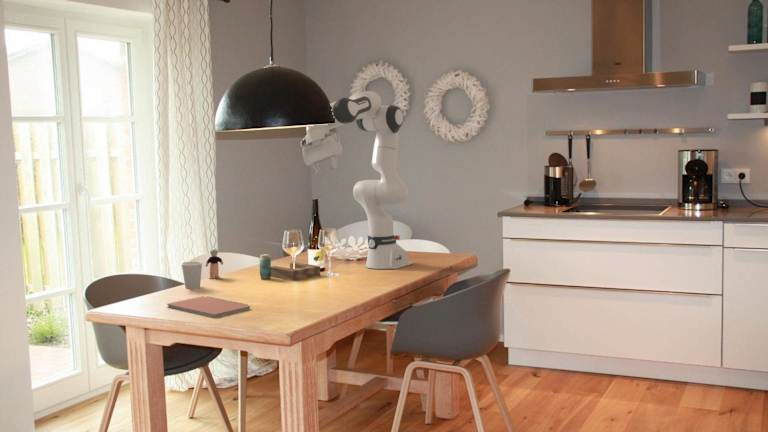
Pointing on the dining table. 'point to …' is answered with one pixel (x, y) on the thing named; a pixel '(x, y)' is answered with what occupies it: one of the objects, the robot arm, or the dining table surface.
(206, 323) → the dining table surface
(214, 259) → the grandmother figurine
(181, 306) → the notebook
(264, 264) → the teal drink can
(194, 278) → the dixie cup
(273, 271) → the dark brown square block
